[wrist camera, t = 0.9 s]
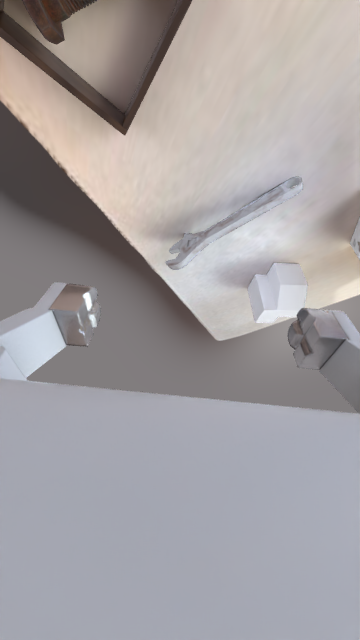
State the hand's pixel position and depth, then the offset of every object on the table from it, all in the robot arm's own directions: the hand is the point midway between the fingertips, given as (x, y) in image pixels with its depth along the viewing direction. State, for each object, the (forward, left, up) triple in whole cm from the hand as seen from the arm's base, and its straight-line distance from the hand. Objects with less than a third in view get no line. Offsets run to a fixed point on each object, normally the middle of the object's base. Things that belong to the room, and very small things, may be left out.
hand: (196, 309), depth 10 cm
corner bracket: (+49, -18, -39) cm, 65 cm away
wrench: (+23, -12, -39) cm, 47 cm away
